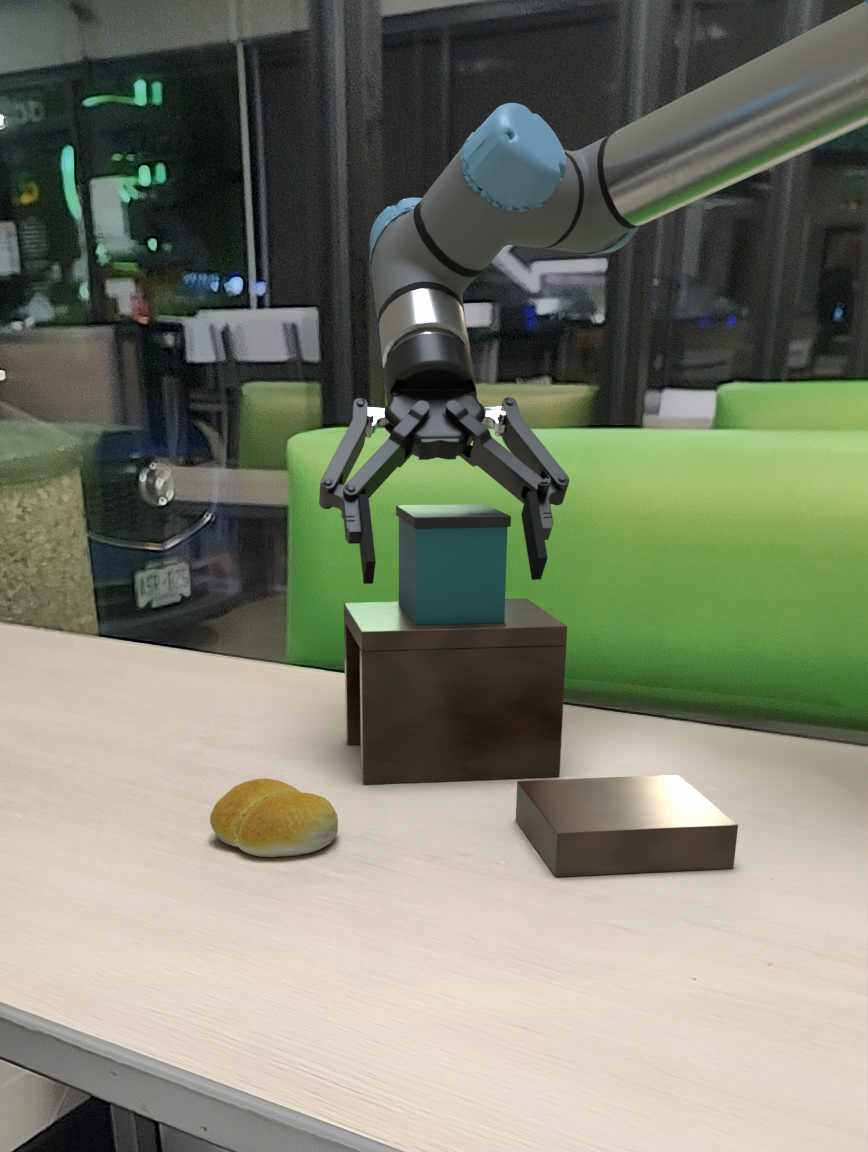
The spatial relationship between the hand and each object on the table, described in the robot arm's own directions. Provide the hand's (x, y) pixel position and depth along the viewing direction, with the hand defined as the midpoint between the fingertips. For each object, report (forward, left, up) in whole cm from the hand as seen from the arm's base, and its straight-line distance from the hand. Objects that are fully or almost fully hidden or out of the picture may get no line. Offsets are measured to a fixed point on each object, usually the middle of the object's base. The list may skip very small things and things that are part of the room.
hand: (455, 571), depth 104 cm
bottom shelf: (-12, +20, -16) cm, 28 cm away
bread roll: (+12, +20, -16) cm, 28 cm away
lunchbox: (0, -2, -4) cm, 4 cm away
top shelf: (0, -2, -16) cm, 16 cm away
